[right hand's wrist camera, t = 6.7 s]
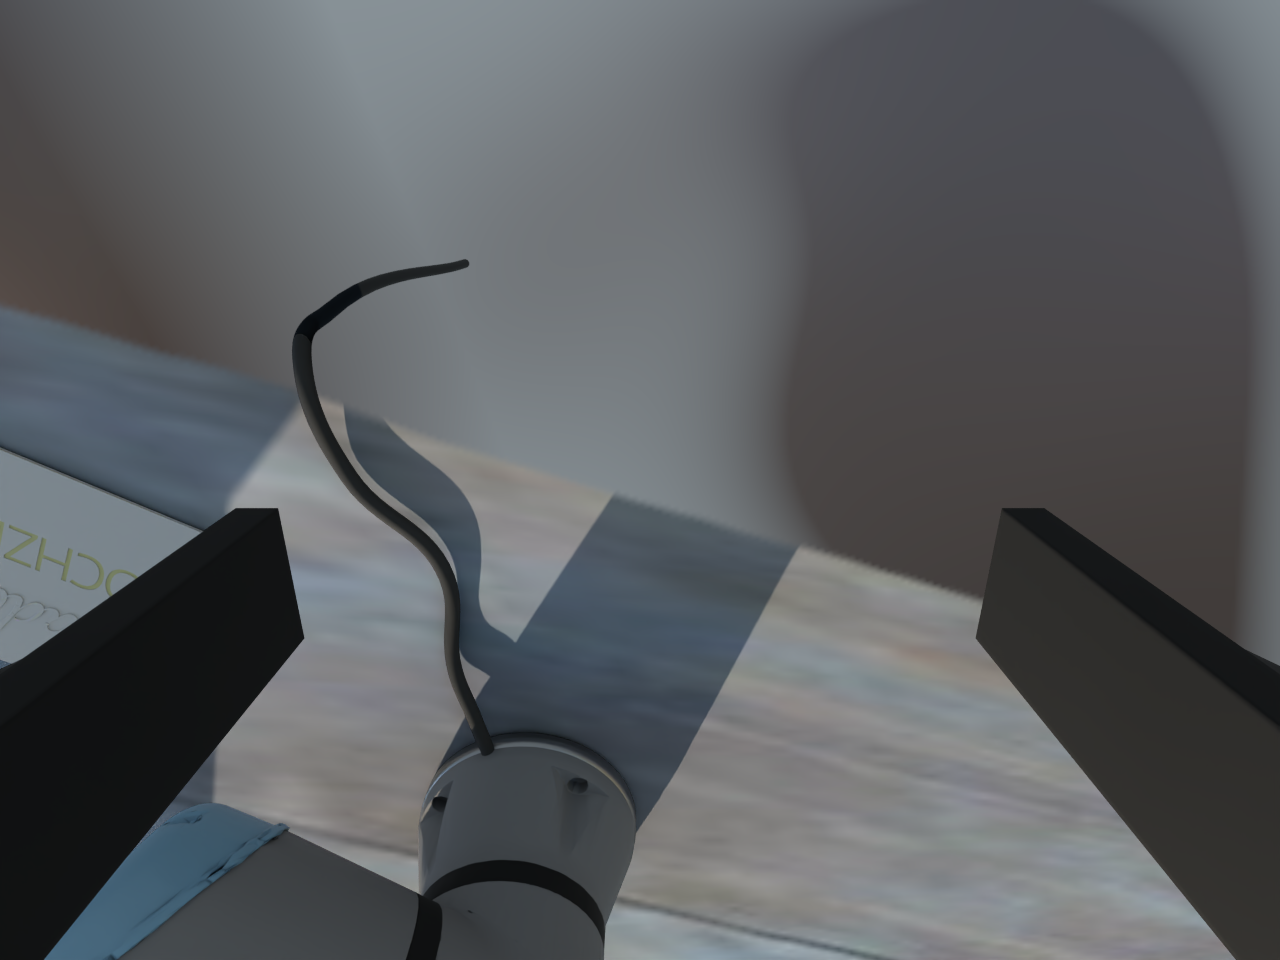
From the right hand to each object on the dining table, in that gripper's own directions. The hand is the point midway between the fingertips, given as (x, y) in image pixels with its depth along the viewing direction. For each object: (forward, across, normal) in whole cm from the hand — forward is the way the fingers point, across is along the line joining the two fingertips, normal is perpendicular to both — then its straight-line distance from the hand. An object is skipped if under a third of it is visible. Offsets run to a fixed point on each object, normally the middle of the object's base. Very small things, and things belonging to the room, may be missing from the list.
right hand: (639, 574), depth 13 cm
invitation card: (+27, -37, -15) cm, 48 cm away
